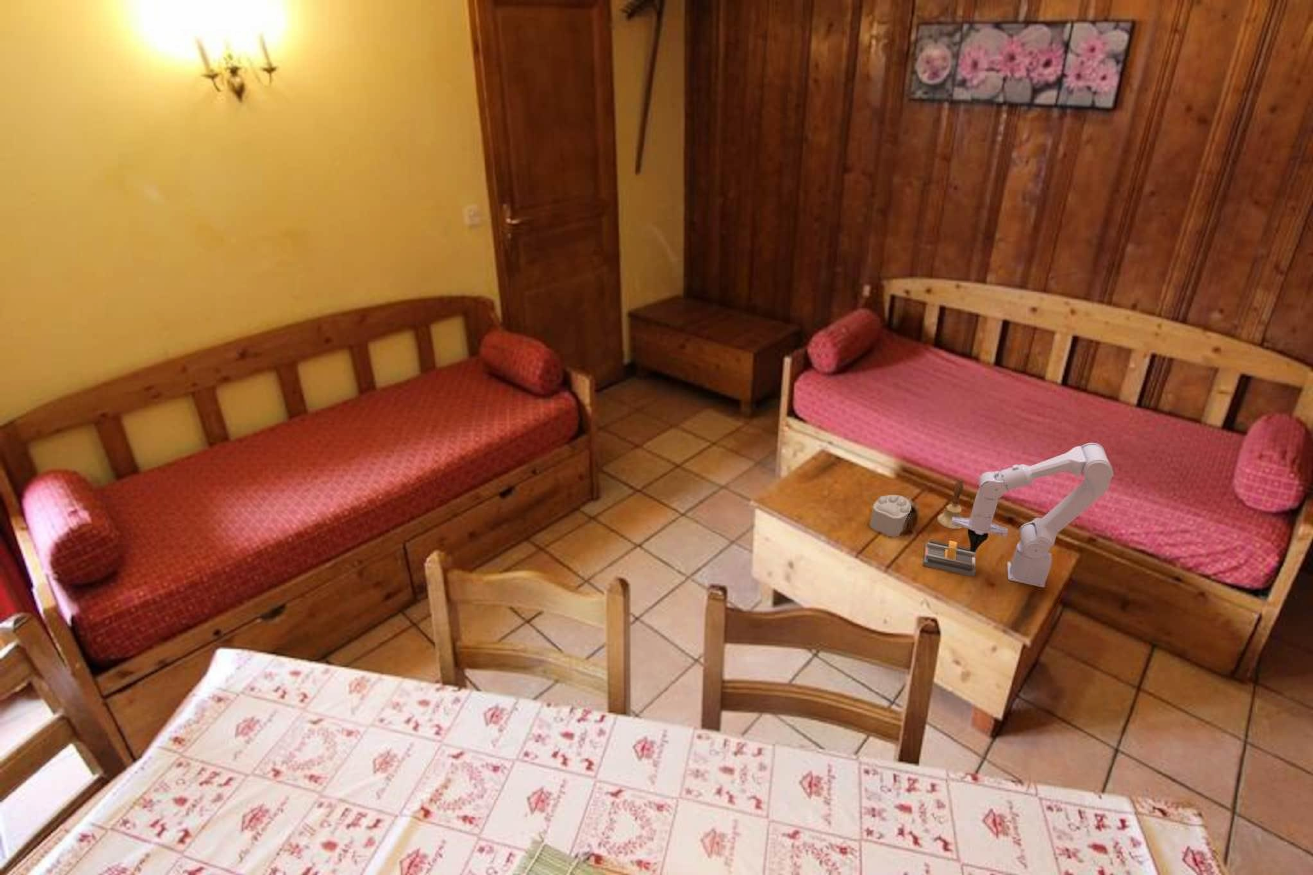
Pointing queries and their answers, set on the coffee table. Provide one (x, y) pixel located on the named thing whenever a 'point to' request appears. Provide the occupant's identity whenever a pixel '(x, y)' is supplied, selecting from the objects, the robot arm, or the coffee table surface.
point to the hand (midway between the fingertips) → (972, 550)
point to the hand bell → (952, 508)
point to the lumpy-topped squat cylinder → (890, 514)
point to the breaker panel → (937, 560)
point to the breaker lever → (951, 550)
